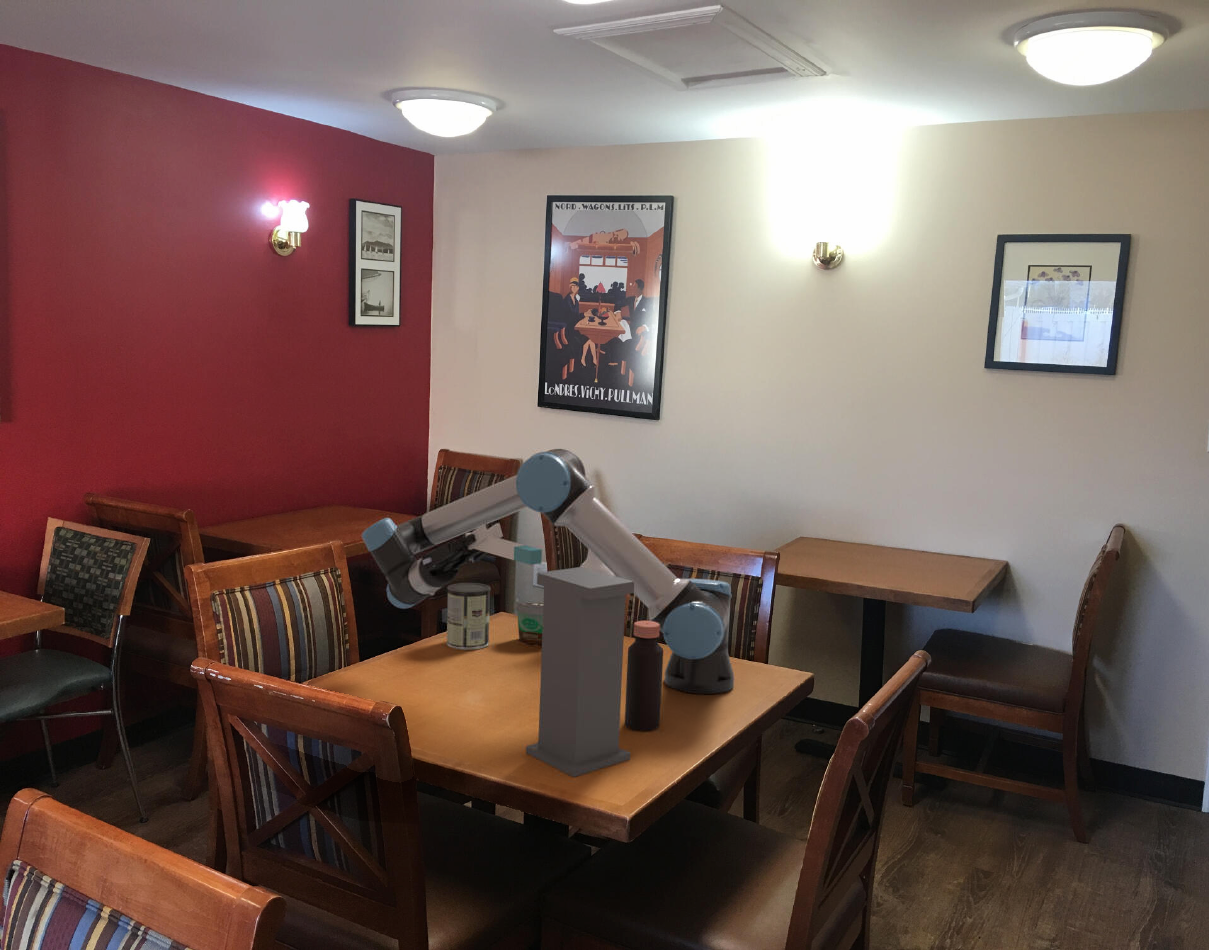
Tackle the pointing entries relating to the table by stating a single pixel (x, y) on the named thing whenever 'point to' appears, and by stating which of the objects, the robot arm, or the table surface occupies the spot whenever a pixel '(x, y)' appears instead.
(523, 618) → the food container
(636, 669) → the bottle
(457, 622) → the coffee can
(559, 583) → the shelf stand
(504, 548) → the beige teal square bar
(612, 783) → the table surface
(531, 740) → the table surface
